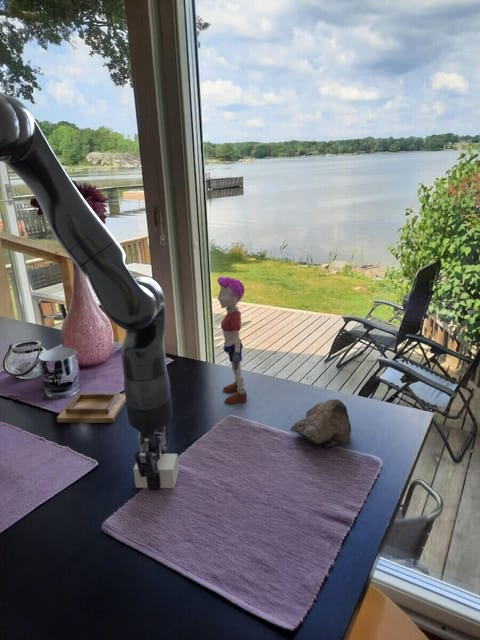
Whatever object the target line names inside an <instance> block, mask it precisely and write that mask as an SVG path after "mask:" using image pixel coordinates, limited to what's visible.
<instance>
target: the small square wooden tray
mask: <svg viewBox="0 0 480 640" xmlns="http://www.w3.org/2000/svg"><path fill="white" fill-rule="evenodd" d="M125 405H126V398H125V393H119V392H78V393H76V394H75V395H74V396H73V397H72V398H71V400H70V401H69V402H68V403H67V404H66V406H65V407H64V408H63V409H62V411H60V413H59V414H58V416H57V417H56V422H57V423H90V424H91V423H92V424H93V423H97V424H99V423H100V424H101V423H102V424H103V423H104V424H105V423H107V424H108V423H109V424H110V423H111V424H114V422H115V421H116V419H117V417H118V416H119V414H120V412H121V411H122V409H123V408H124V406H125Z"/></svg>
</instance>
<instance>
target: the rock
mask: <svg viewBox="0 0 480 640" xmlns="http://www.w3.org/2000/svg"><path fill="white" fill-rule="evenodd" d="M349 417H350V416H349V413H348V409H347V406H346V405H345V403H344V402H342V401H341V400H340V399H328V400H326V401H325V402H318V403H316V404H315V405H314V406H312V407H311V408H310V409H308V410H307V412H306V414H305V418H302V419H300V420H298V421H296V422H295V423H294V425H292V426H291V427H290V431H292V432H295V433H296V434H297V433H298V434H299V435H301V436H303V437H305V438H306V440H308V441H309V442H311V443H314V444H317V445H321V444H322V445H323V446H325V447H327V448H331V447H333V446H338V445H347V444H348V443H349V441H350V437H351V433H352V426H351V422H350V418H349Z"/></svg>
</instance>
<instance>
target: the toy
mask: <svg viewBox="0 0 480 640" xmlns="http://www.w3.org/2000/svg"><path fill="white" fill-rule="evenodd" d="M217 283H218V285H219V286H220V289H219V292H218V296H217V301H219V304H220V307H221V309H225V310H226V314H225V316H224V317H223V319H222V320H221V322H220V328H221V330H222V334H223V338H224V343H223V348H222V350H223V351H224V353H226V354H227V356H229V357H228V358H229V362H230V364H231V370H232V371H233V373H234V382H233V383H231V384H228V385H226V386H224V387H223V389H222V391H223V392H224V393H226V394H229V393H233V392H234V394H232V395H229V396H227V397H226V398H225V400H224V402H225V404H227V405H228V404H229V405H235V404H240V403H246V402H247V401H248V399H247V398H248V395H247V390H246V387H245V383H244V381H245V380H244V376H243V375H242V368H241V362H242V361H243V355H242V351H243V348H244V345H243V343H242V339H241V338H240V331H241V328H242V313H241V311H240V310H239V308H240V307H239V306H237V305H238V304H239V303H240V302H241V300H242V298H243V297H244V295H245V286H244V284H243V282H242V281H241V280H240V279H237V278H234V277H233V278H232V277H230V276H219V277H218V278H217ZM235 392H236V393H235Z"/></svg>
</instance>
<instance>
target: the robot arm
mask: <svg viewBox="0 0 480 640" xmlns="http://www.w3.org/2000/svg"><path fill="white" fill-rule="evenodd" d="M0 162H3V163H4V164H5V165H6V166H7V167H8V168H9V169H11V170H12V171H13V172H14V173H15V174H16V176H18V178H19V179H20V180H21V181H22V182H24V184H25V185H26V187H28V189H29V191H30V192H31V193H32V195H33V196H34V199H36V201H37V203H38V205H39V206H40V207H39V208H40V209H41V211H42V213H43V216H44V218H45V220H46V222H47V225H48V227H49V229H50V231H51V232H52V234H53V236H54V238H55V240H56V241H57V243H58V244H59V245H60V247H61V248H62V249H63V251H64V252H65V253H66V254H67V256H68V257H69V258H70V259H71V261H73V263H74V264H75V265H76V266H77V268H78V269H79V270H80V271H81V272H82V273H83V274H84V276H85V277H86V278H87V280H88V282H89V285H90V286H91V289H92V291H93V293H94V295H95V297H96V298H97V300H98V302H99V304H100V305H101V308H102V309H103V311H104V312H105V314H106V315H107V317H108V318H109V319H110V320H111V321H112V322H113V323H114V324H115V325H116V326H118V327H119V328H121V329H123V330H125V337H124V340H123V342H122V344H121V351H120V353H121V363H122V364H121V365H122V372H123V377H124V378H123V389H124V394H125V398H126V402H125V405H126V412H127V420H128V424H129V426H131V427H132V428H133V429H134V430H136V431H138V432H139V433H138V444H139V451H137V450H136V451H135V452H134V459H135V463H136V462H137V466H138V469H139V473H140V476H141V477H146V478H147V486H148V488H147V489H148V490H153V491H154V490H155V491H157V490H160V489H161V488H160V486H161V482H160V473H159V459H160V458H161V457H162V454H167V450H168V446H167V444H168V443H169V440H170V439H169V423H171V421H172V419H173V416H174V415H173V414H174V413H173V403H172V394H171V393H172V392H171V381H170V378H169V373H168V368H167V357H166V349H165V329H166V300H165V295H164V291H163V289H162V287H161V286H160V284H159V283H158V282H157V281H156V280H154V279H153V278H151V277H148V276H136V277H134V276H133V275H132V272H130V270H129V268H128V267H127V263H126V261H127V254H126V252H125V250H124V248H123V247H122V245H121V244H120V243H119V241H118V240H117V239H116V238H115V236H114V235H113V234H112V232H111V231H110V230H109V229H108V227H107V226H106V225H105V224H104V223H103V221H102V219H100V217H99V216H98V215H97V213H96V212H95V211H94V210H93V208H92V207H91V206H90V204H88V202H87V200H86V199H85V198H84V197H83V195H82V194H81V192H80V191H79V190H78V188H77V187H76V185H75V184H74V183H73V181H72V179H71V178H70V176H69V175H68V174H67V172H66V170H65V169H64V167H63V166H62V164H61V163H60V160H59V159H58V157H57V156H56V154H55V153H54V151H53V149H52V148H51V146H50V144H49V142H48V140H47V138H46V137H45V135H44V134H43V132H42V130H41V128H40V126H39V125H38V123H37V121H36V120H35V118H34V116H33V115H32V113H31V112H30V111H29V108H27V106H25V104H24V103H22V102H21V101H20V100H19V99H18V98H16V97H14V96H11V95H10V94H7V93H4V92H1V91H0ZM154 462H155V464H154Z"/></svg>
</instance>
